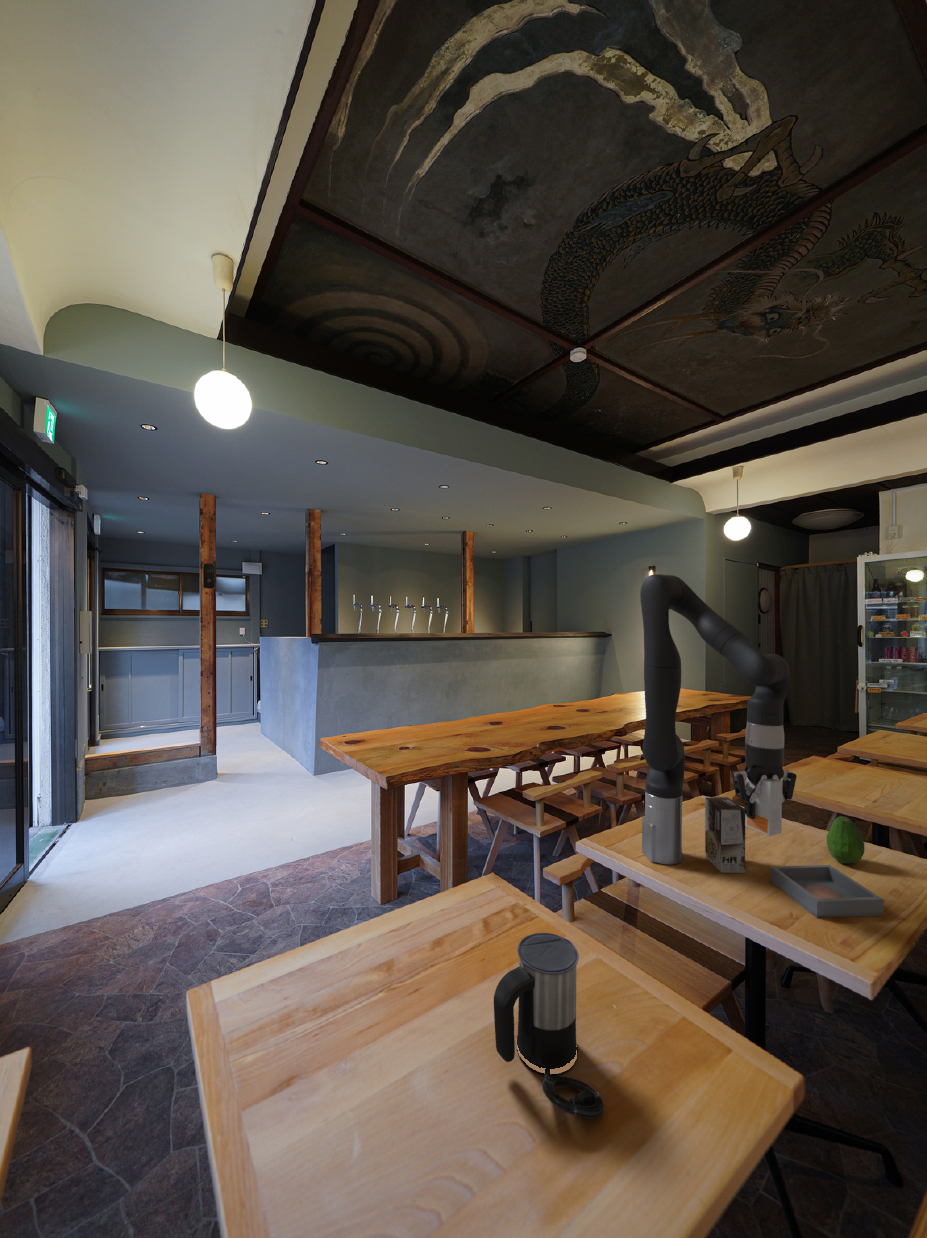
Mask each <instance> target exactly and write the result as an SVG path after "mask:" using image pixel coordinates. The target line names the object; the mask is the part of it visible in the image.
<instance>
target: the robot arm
mask: <svg viewBox="0 0 927 1238" xmlns="http://www.w3.org/2000/svg"><path fill="white" fill-rule="evenodd" d="M639 593H640V595H639V596H640V597H639V598H640V606H641V615H642V625H643V647H644V648H643V654H644V655H643V683H644V684H643V687H644V688H643V689H644V706H645V708H644V709H645V724H644V736H643V744H642V755H643V758H644V760H645V762H646V763H647V765H648V766H647V767H648V768H647V774H646V778H645V784H644V786H645V787H644V791H645V792H644V793H645V795H644V796H645V797H644V800H645V801H644V804H645V805H644V806H645V807H644V810H645V811H644V816H642V817H641V818H642V820H641V824H642V825H641V852H642V853H643V855H645V857H646V859H648V860H649V861H650V863H658V864H662V865H668V866H669V865H678V864H680V863H681V862H682V861H683V860H682V859H683V787H684V782H685V781H684V780H685V747H684V743H683V741H682V739H681V737H679V736H678V734H677V733H676V717H677V716H676V715H677V710H678V709H677V708H678V705H679V700H680V694H681V690H682V689H681V687H682V659H681V655H680V652H679V650H678V647H677V645H676V643H675V641H674V638H673V636H672V633H671V630H670V620H669V619H670V611H671V610H672V611H674V613H675V612H676V613H677V614H679V615H681V616H682V617H684V618H685V619H686V620H687V621H689V622H690V624H692V626H693V627H694V629H695V630H696V632H697V633H698V634H699V636H700V638H701V639H702V640H703V641H704V642H705V643H706V644H707V645H708V646H710V647H711V648H712V649H713V650H714V651H716V652H717V653H718V654H720V656H722V657H723V658H724V659H726V660H727V661H728V663H729V664H730V665H731V667H732V668H733V669H734V671H735V672H736V673H737V674H738V675H739V676H740V677H742V679H743V680H744V681H746V682H747V683H749V684H751V685H752V686H755V689H754V692H753V694H752V696H750V697H749V698H748V701H747V705H746V706H747V707H746V710H747V711H746V727H745V738H744V739H745V740H744V741H745V744H744V745H745V747H744V748H745V749H744V756H745V757H744V758H745V759H744V760H745V764H746V765H745V768H744V770H741V771H736V770H733V771H732V772H731V777H732V783H733V788H734V792H735V796H736V797H737V798H739V799H741V800H743V801H744V805H743V806H744V807H743V808H744V813H745V814H746V816H747V817H749V818H750V819H755V803H754V802H755V799H756V797H757V795H758V794H760V791H761V789H762V782H763V781H764V780H766V779H772V780H782V781H783V785H782V815H783V810H784V809H783V805H784V804H783V803H784V802H785V801H787V800H788V801H789V800H790V801H791V800H792V799H793V796H794V790H795V787H796V781H797V777H798V776H797V774H796V773H794V772H792V771H790V770H787V769H785V770H784V768H783V766H784V765H785V730H784V705H785V704H784V703H785V701H786V700H785V699H786V698H787V693H788V688H789V684H790V683H789V682H790V673H791V672H790V668H789V664H788V662H787V661H786V659H785V658H783V656H781V655H779V654H775V653H765V654H763V653H761V652H760V651H758V650H757V649H756V648H755V647H754V646H753V642H752V640H751V638H750V637H749V636H748V635H747V634H745V633H744V632H742V631H741V630H740V629H739V628H737V627H736V626H734V625H733V624H732V623H730V622H729V621H728V620H726V619H725V618H724V617H722V616H721V615H720V614H719V613H717V612H716V611H715V610H713V608H711V607H710V606H709V605H707V603H706V602H705V601H704V600H703V599H701V597H699V596H698V595H697V594H696V592H695V591H694V590H693V589H692V588H691V587H690V586H689V585H688V584H687V583H686V582H685V581H684V580H683V579H681V578H680V577H678V576H676V575H672V574H660V573H659V574H658V573H657V574H656V573H655V574H651V575H648V576H647V577H646V578H644V580H643V582H642V584H641V586H640V592H639ZM746 776H747V778H748V779H749V781H750V782H751V784H753V785H754V786H755V788H752V787H750V785H749V782H748V783H747V784H746V783H745V782H746Z"/></svg>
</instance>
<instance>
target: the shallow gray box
mask: <svg viewBox="0 0 927 1238" xmlns="http://www.w3.org/2000/svg"><path fill="white" fill-rule="evenodd" d="M769 868H770V872H769V875H770V878H769V880H770V882H771V883H772V884H774V885H775V886H776V887H778V889H780V890H781V891H782V892H784V893H785V894H786V895H787V896H789V897H790V898H791V899H792V900H794V901H795V902H796V903H797V904H798V905H800V906H802V908H803V909H804V910H806V911H808V912H809V913H811V915H813V916H814V917H815V918H816V919H822V918H823V919H824V918H846V917H847V918H848V917H850V918H851V917H872V916H873V917H876V916H877V917H878V916H884V898H882V897H880V896H879V895H878V894H876V893H874V891H871V890H870V889H868V888H866V887H865V886H863V885H862V884H861V883H859V882H857V881H856V880H854V879H853V878H851V877H849V876H848V875H846V874H844V873H843V872H841V871H840V870H838V869H836V868H835V867H833V866H832V865H831V864H816V865H815V864H814V865H813V864H812V865H811V864H810V865H809V864H808V865H782V866H776V865H775V866H770V867H769Z"/></svg>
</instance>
